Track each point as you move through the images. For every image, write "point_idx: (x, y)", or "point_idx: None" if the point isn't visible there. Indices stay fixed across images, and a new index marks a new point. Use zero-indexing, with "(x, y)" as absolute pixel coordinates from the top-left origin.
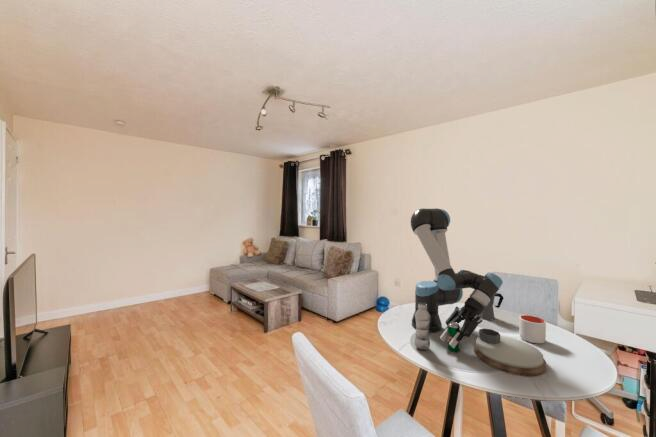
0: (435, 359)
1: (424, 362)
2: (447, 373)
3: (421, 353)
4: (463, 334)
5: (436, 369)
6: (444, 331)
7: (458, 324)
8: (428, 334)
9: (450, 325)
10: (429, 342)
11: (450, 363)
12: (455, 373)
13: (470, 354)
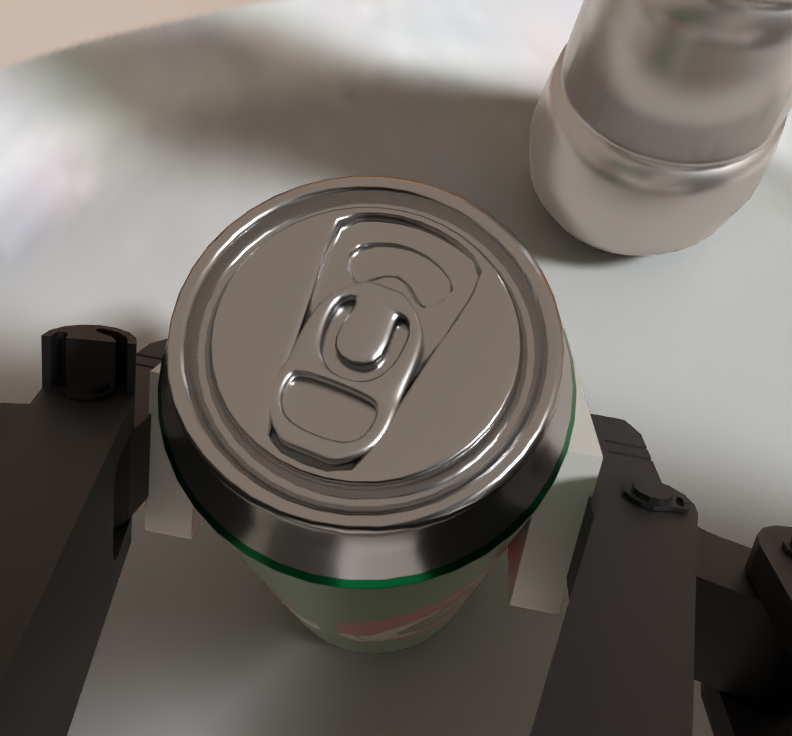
0: (334, 141)
1: (354, 14)
2: (83, 51)
3: (516, 106)
4: (23, 405)
5: (196, 19)
6: (576, 380)
7: (228, 452)
8: (602, 33)
9: (371, 201)
10: (555, 149)
11: (174, 216)
12: (26, 111)
13: (129, 697)
